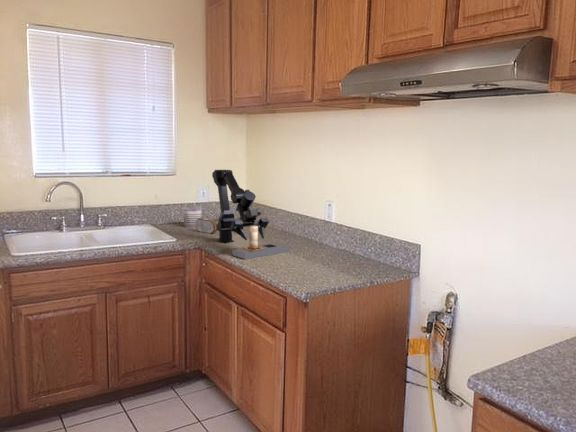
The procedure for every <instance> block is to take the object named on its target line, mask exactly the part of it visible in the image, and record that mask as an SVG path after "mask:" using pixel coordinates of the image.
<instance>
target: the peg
mask: <svg viewBox="0 0 576 432" xmlns="http://www.w3.org/2000/svg"><path fill="white" fill-rule="evenodd" d="M258 229H259V228H258V226H250V227H249V246H248V247H249V249H251V250H255V249H258V245H259V231H258Z"/></svg>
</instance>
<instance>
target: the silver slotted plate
mask: <svg viewBox="0 0 576 432" xmlns="http://www.w3.org/2000/svg"><path fill="white" fill-rule="evenodd" d="M249 247H250V246H245V247H239V248H233V249H232V250H231V251H232V252H231V253H232V255H231V256H233V257H236V258H240V259H242V260H251V259H256V258H261V257H267V256H271V255H277V254H282V253H287V252H290V251H291V248H290V247H291V245H289V244H286V243H282V242H278V241H274V242H269V243H263V244H258V249H255V250H251V249H249Z"/></svg>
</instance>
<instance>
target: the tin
mask: <svg viewBox="0 0 576 432" xmlns="http://www.w3.org/2000/svg"><path fill="white" fill-rule="evenodd" d="M217 224H218V222H216V221H215V220H214V219H213V218H212V219H211V218H205V217H202V218H200V219H198V220H197V221H196V228H195V229H196V230H197V231H198V232H199V233H203V234H210V235H211V234H216V233H217V232H218V231H217V229H216V226H217Z"/></svg>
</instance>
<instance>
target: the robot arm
mask: <svg viewBox="0 0 576 432" xmlns="http://www.w3.org/2000/svg"><path fill="white" fill-rule="evenodd" d="M211 173H212V178H213V183H214V184H215V185H216V186H217V193H218V198H219V207H220V214H219V216H218V222H217V226H216V229H217V231H216V232H218V233H219V234H218V235H219V240H217V242H218V243H223V244H227V243H233V242H234V239H233V233H232V232H234V233H235V234H238V235H239V236H240V237H241V238H242V239H244V241H247V240H248V237H247V235H246V232H245V229H244V228H245V227H246V228H250V226H258V234H259V235H260V236H261V238H262V239H263V240H264V239H265V229H266V228H267V226H268V225H269V222H270V221H269V219H268V218H267V217H264V218H262V217H261V218H259V219H258V221H256V220H257V217H260V216H261V215H262V211H261V208H260V207H259V208H255V209H251V208H250V207H252V205H253V203H254V201H255V200H256V197H257V196H256V194H255V193H254V192H252V191H250V189H243V188H242V187H240V186H239V184H238V182H237V180H236V178H235V176H234V172H233V170H231V169H214V171H212V172H211ZM228 189H229V191H230V199H229V195H228V194H229V193H228ZM229 200H230V201H231V202H232V204H237V205H236V208H235V209H236V210H235V211H236V212H238V214H239V219H237V220H236V218H235V214H234V213H232V211H231V208H230V201H229Z"/></svg>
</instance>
